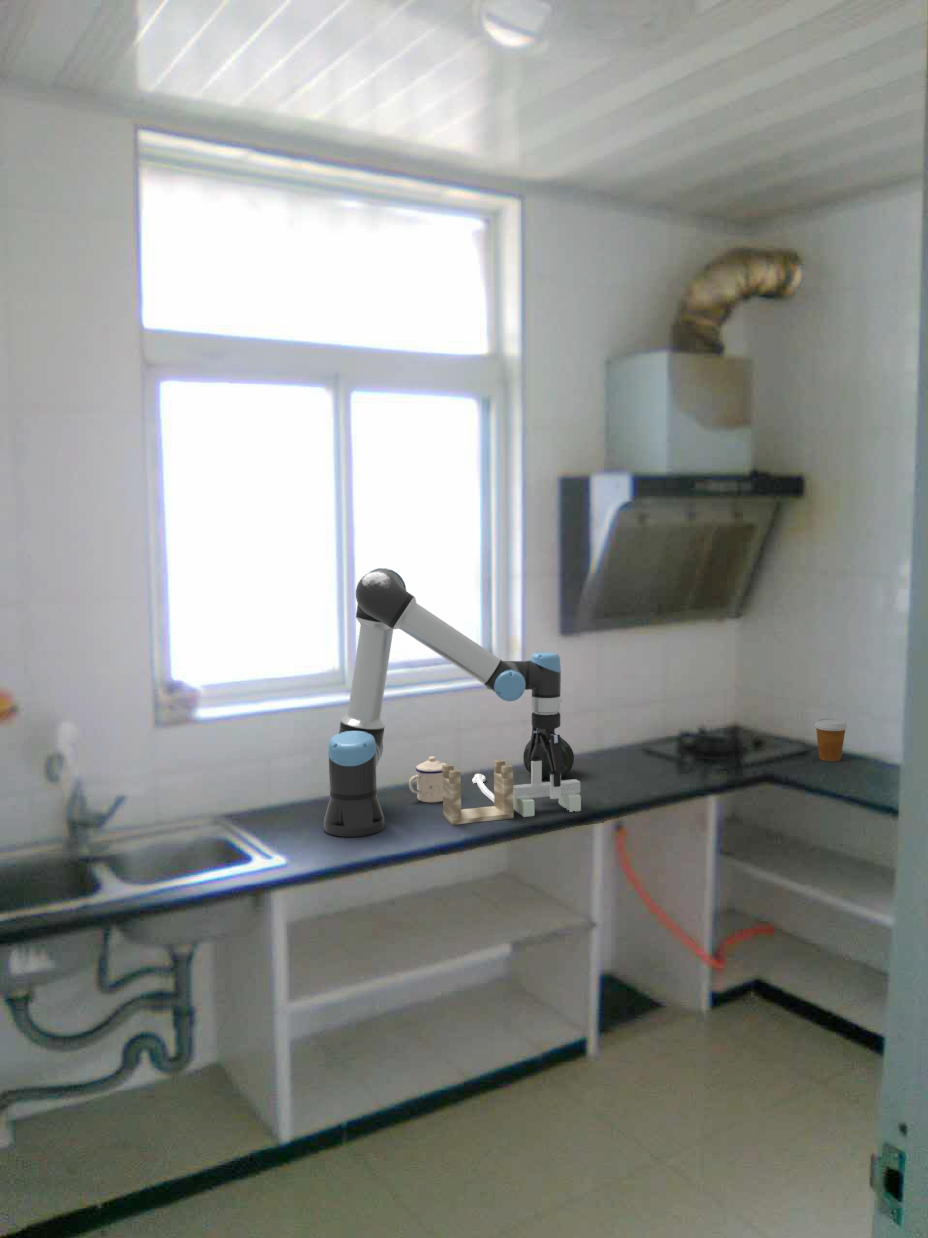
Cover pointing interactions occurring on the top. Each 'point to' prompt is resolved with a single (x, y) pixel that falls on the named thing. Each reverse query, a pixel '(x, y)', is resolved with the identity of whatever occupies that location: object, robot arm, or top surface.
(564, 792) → the rail
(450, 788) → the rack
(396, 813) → the top surface
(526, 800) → the rest
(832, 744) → the disposable coffee cup
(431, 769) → the teacup with lid
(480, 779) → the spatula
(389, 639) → the robot arm
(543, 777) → the squash
